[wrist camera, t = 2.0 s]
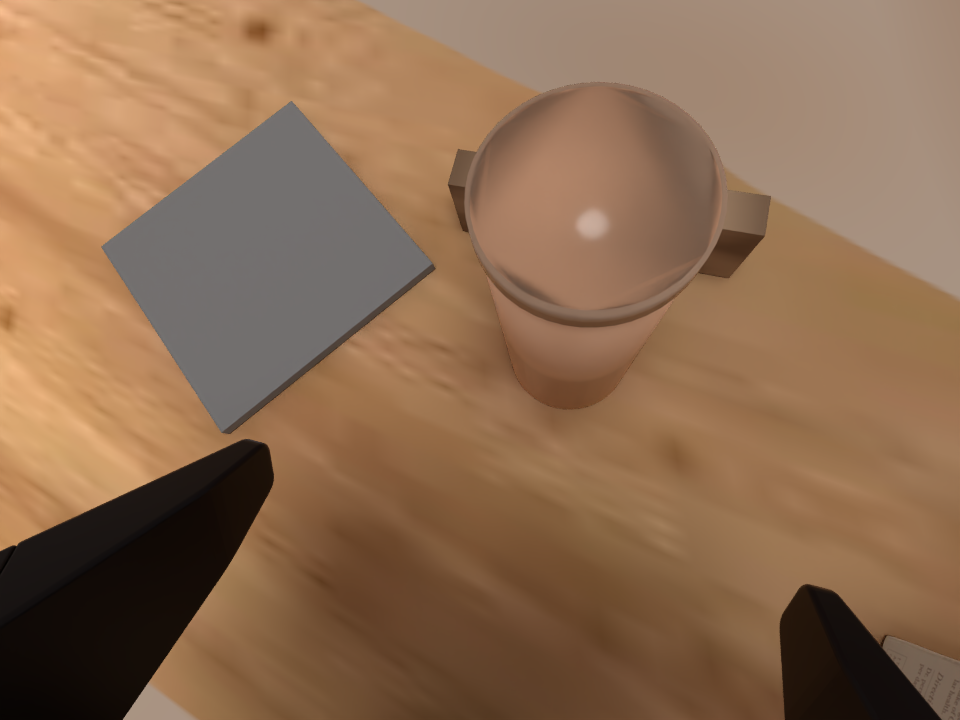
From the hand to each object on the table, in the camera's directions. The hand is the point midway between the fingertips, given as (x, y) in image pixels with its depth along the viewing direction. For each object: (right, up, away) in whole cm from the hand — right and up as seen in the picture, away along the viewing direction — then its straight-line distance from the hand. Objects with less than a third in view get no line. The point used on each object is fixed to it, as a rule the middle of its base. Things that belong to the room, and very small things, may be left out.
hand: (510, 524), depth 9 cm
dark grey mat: (-11, +8, +17) cm, 22 cm away
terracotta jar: (+3, +3, +14) cm, 15 cm away
